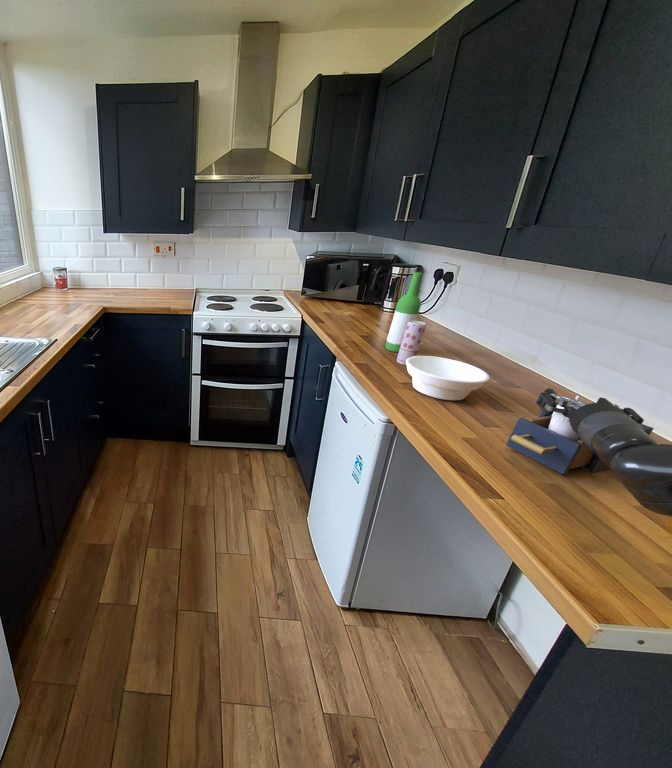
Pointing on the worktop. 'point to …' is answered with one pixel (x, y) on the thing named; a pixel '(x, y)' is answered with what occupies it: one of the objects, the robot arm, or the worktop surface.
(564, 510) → the worktop surface
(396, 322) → the wine bottle
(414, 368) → the bowl
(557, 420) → the smoothie
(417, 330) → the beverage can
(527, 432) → the drawer
